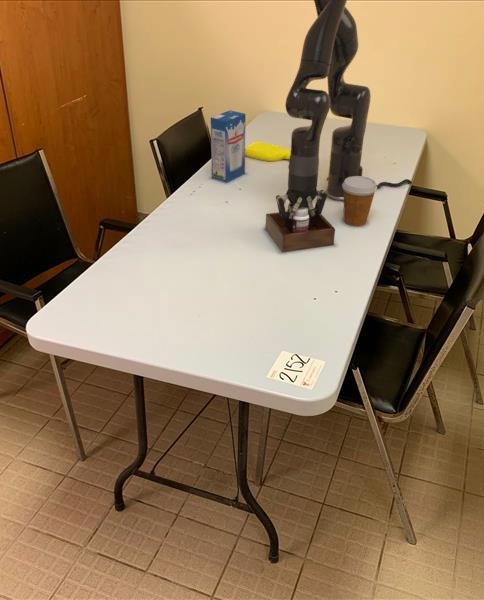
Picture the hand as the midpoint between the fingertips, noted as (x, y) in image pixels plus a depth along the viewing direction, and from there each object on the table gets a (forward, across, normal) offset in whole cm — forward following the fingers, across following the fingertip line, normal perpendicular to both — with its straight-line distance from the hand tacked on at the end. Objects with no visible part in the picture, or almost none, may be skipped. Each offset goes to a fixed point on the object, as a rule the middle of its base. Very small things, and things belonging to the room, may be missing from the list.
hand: (299, 229), depth 162 cm
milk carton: (+3, -7, +47) cm, 48 cm away
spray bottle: (+3, +15, +58) cm, 59 cm away
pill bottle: (+2, 0, 0) cm, 2 cm away
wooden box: (+2, 0, 0) cm, 2 cm away
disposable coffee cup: (+3, +19, +4) cm, 20 cm away
